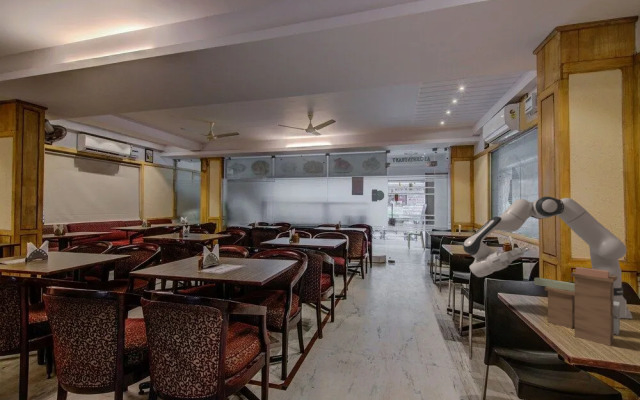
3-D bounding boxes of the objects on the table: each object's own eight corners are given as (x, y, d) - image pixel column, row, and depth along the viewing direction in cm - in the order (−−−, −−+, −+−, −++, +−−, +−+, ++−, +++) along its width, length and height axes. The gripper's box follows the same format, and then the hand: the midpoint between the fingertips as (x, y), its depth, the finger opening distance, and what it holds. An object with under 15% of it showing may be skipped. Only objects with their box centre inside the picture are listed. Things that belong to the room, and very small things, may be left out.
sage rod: (536, 283, 156) (536, 277, 156) (592, 293, 140) (592, 286, 140) (534, 284, 154) (534, 278, 154) (590, 294, 138) (590, 287, 138)
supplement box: (596, 330, 139) (596, 301, 139) (597, 326, 144) (597, 298, 144) (619, 335, 134) (619, 305, 134) (620, 331, 139) (620, 301, 139)
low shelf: (550, 318, 154) (550, 284, 154) (579, 325, 145) (579, 289, 145) (544, 322, 148) (544, 287, 148) (574, 329, 139) (574, 292, 140)
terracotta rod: (577, 273, 133) (577, 267, 133) (609, 277, 125) (609, 271, 126) (575, 273, 132) (575, 267, 132) (607, 278, 124) (608, 271, 124)
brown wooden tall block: (576, 331, 138) (576, 270, 138) (617, 341, 128) (617, 276, 128) (570, 336, 132) (571, 273, 133) (613, 347, 122) (613, 279, 123)
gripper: (487, 256, 162) (513, 245, 153) (503, 252, 175) (528, 241, 166) (494, 268, 160) (520, 257, 151) (510, 263, 173) (535, 252, 164)
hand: (524, 249), depth 159 cm, fingers open, 8 cm apart
